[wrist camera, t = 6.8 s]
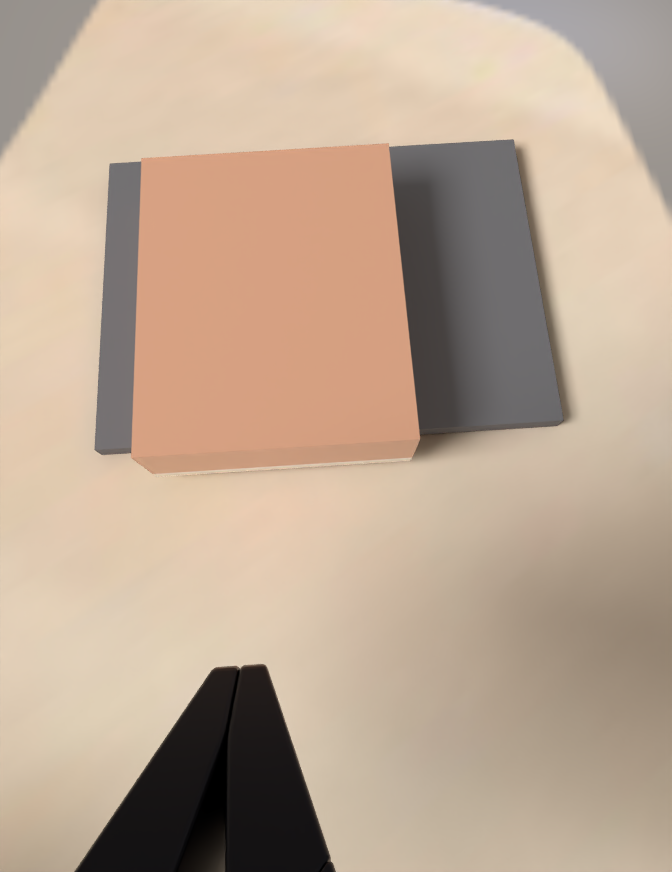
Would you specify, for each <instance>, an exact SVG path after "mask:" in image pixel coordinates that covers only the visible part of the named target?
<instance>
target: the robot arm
mask: <svg viewBox="0 0 672 872" xmlns="http://www.w3.org/2000/svg"><path fill="white" fill-rule="evenodd" d="M75 872H336V871H335V868H334V865H333V863H332V862H331V857H330V854H329V851H328V848H327V845H326V842H325V839H324V836H323V833H322V830H321V827H320V824H319V821H318V818H317V815H316V812H315V809H314V806H313V803H312V800H311V797H310V794H309V791H308V788H307V785H306V782H305V779H304V776H303V773H302V770H301V767H300V764H299V761H298V758H297V755H296V752H295V749H294V746H293V743H292V740H291V737H290V734H289V731H288V728H287V725H286V722H285V719H284V716H283V713H282V710H281V707H280V704H279V701H278V698H277V695H276V692H275V689H274V686H273V683H272V680H271V677H270V674H269V671H268V669H267V666H266V665H264V664H256V665H244V666H242V667H241V669H240V668H239V667H237V666H227V667H216V668H214V669H213V670H212V671H211V672H210V673H209V675H208V676H207V678H206V679H205V681H204V682H203V684H202V685H201V687H200V688H199V690H198V691H197V693H196V694H195V695H194V697H193V698H192V700H191V701H190V703H189V704H188V706H187V707H186V709H185V710H184V712H183V713H182V715H181V716H180V718H179V719H178V720H177V722H176V723H175V725H174V726H173V728H172V729H171V731H170V732H169V734H168V735H167V737H166V738H165V740H164V741H163V743H162V744H161V745H160V747H159V748H158V750H157V751H156V753H155V754H154V756H153V757H152V759H151V760H150V762H149V763H148V765H147V766H146V767H145V769H144V770H143V772H142V773H141V775H140V776H139V778H138V779H137V781H136V782H135V784H134V785H133V787H132V788H131V790H130V791H129V792H128V794H127V795H126V797H125V798H124V800H123V801H122V803H121V804H120V806H119V807H118V809H117V810H116V812H115V813H114V815H113V816H112V817H111V819H110V820H109V822H108V823H107V825H106V826H105V828H104V829H103V831H102V832H101V834H100V835H99V837H98V838H97V839H96V841H95V842H94V844H93V845H92V847H91V848H90V850H89V851H88V853H87V854H86V856H85V857H84V859H83V860H82V862H81V863H80V864H79V866H78V867H77V869H76V870H75Z"/></svg>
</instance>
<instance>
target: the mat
mask: <svg viewBox="0 0 672 872" xmlns="http://www.w3.org/2000/svg"><path fill="white" fill-rule="evenodd" d="M389 152H390V161H391V170H392V180H393V189H394V198H395V208H396V217H397V226H398V236H399V245H400V255H401V264H402V273H403V283H404V292H405V301H406V311H407V320H408V329H409V339H410V348H411V358H412V367H413V376H414V386H415V395H416V404H417V414H418V423H419V433H420V435H422V434H437V433H453V432H469V431H485V430H500V429H516V428H532V427H548V426H558V425H559V424H560V423H561V422H562V421H563V414H562V408H561V403H560V397H559V392H558V386H557V380H556V375H555V369H554V364H553V358H552V352H551V347H550V341H549V336H548V330H547V324H546V319H545V313H544V308H543V302H542V296H541V291H540V285H539V280H538V274H537V268H536V263H535V257H534V252H533V246H532V240H531V235H530V229H529V224H528V218H527V212H526V207H525V201H524V196H523V190H522V184H521V179H520V173H519V168H518V162H517V156H516V151H515V145H514V140H513V139H512V140H496V141H479V142H462V143H446V144H429V145H412V146H396V147H389ZM140 188H141V162H129V163H112V164H110V168H109V187H108V206H107V225H106V244H105V263H104V282H103V301H102V320H101V339H100V357H99V376H98V395H97V414H96V433H95V451H97V452H98V453H100V454H101V455H106V454H122V453H131V448H132V419H133V390H134V361H135V332H136V303H137V275H138V246H139V217H140Z"/></svg>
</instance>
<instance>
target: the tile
mask: <svg viewBox="0 0 672 872" xmlns="http://www.w3.org/2000/svg"><path fill="white" fill-rule="evenodd" d="M419 441H420V433H419V423H418V414H417V404H416V395H415V386H414V376H413V367H412V358H411V348H410V339H409V329H408V320H407V311H406V301H405V292H404V283H403V273H402V264H401V255H400V245H399V236H398V226H397V217H396V208H395V198H394V189H393V180H392V170H391V161H390V152H389V144H372V145H356V146H339V147H322V148H306V149H289V150H273V151H256V152H239V153H223V154H206V155H189V156H173V157H156V158H142V159H141V188H140V217H139V246H138V275H137V303H136V332H135V361H134V390H133V419H132V448H131V458H132V459H133V460H135V461H136V462H137V463H139V464H140V465H141V466H143V467H144V468H145V469H147V470H148V471H150V472H151V473H152V474H154V475H155V476H156V477H163V476H179V475H195V474H210V473H226V472H242V471H257V470H273V469H289V468H304V467H320V466H336V465H351V464H367V463H383V462H399V461H411V459H412V457H413V455H414V453H415V450H416V448H417V446H418V443H419Z"/></svg>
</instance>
